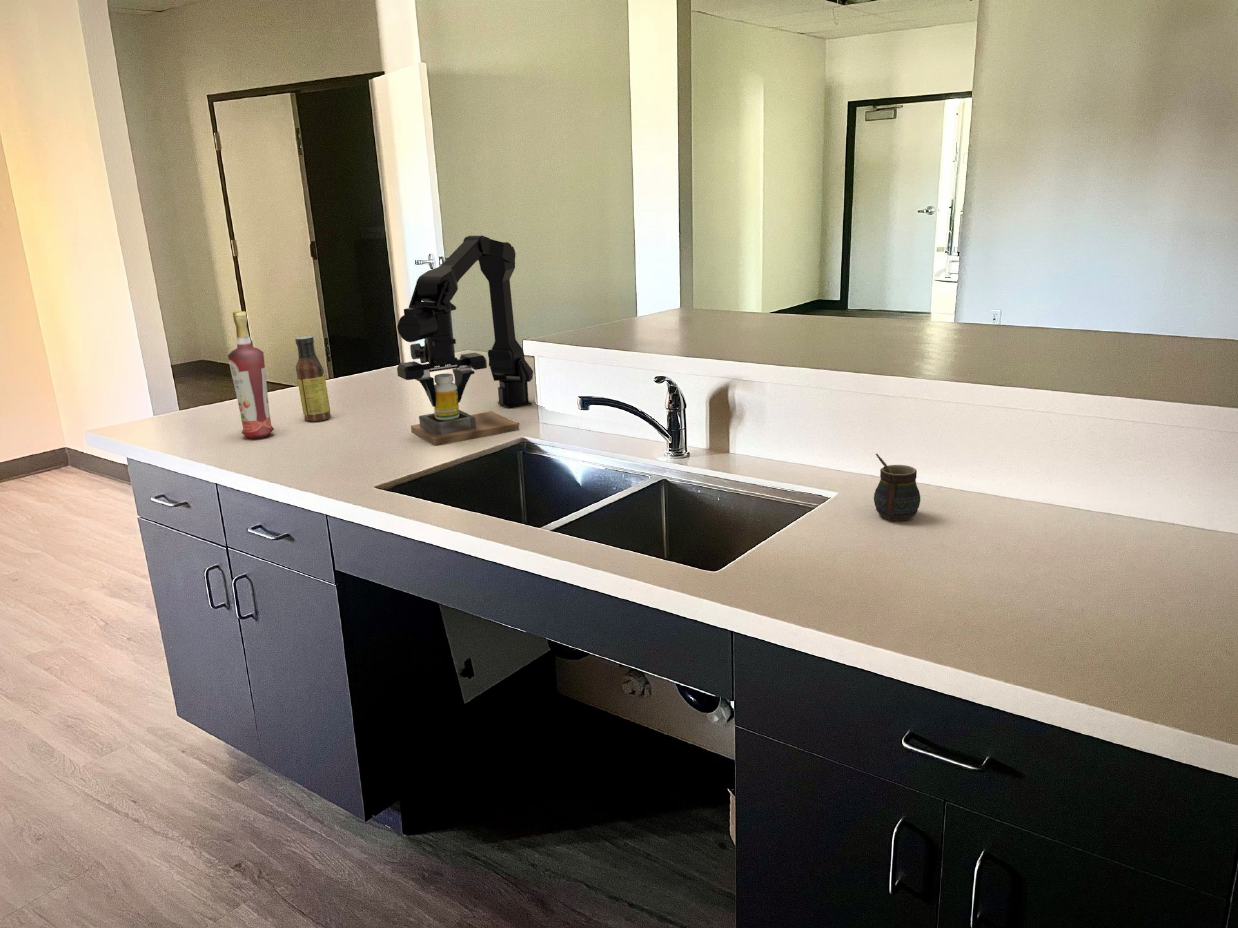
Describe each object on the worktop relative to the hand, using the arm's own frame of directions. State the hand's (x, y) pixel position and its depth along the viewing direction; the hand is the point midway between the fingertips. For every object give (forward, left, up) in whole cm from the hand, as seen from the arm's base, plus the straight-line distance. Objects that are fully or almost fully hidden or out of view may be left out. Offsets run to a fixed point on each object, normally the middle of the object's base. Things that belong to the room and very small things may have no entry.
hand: (446, 404), depth 199 cm
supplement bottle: (0, 0, -3) cm, 3 cm away
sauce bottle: (+20, -33, -7) cm, 39 cm away
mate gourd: (-38, +93, -7) cm, 101 cm away
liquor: (+35, -26, -7) cm, 44 cm away
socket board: (-4, 0, -7) cm, 8 cm away
